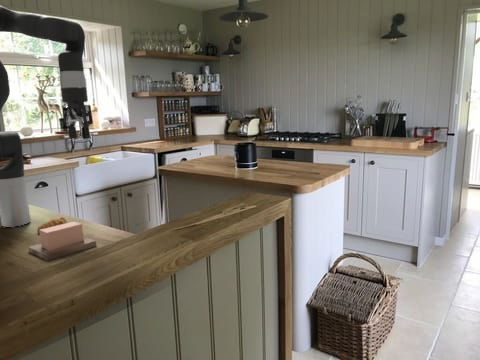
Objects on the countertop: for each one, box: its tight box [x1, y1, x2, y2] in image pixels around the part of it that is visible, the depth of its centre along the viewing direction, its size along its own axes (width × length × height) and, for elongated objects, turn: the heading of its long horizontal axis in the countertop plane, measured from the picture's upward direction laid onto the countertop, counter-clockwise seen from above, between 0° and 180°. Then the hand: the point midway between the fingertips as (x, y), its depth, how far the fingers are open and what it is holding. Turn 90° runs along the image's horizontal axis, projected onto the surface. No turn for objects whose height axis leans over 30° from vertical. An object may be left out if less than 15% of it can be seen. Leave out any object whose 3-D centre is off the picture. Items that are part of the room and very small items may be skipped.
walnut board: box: [27, 236, 97, 261], centre depth 116 cm, size 12×14×2 cm
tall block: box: [39, 221, 85, 250], centre depth 116 cm, size 5×5×10 cm
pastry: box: [36, 217, 69, 234], centre depth 136 cm, size 9×7×4 cm
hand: (79, 138), depth 130 cm, fingers open, 8 cm apart
